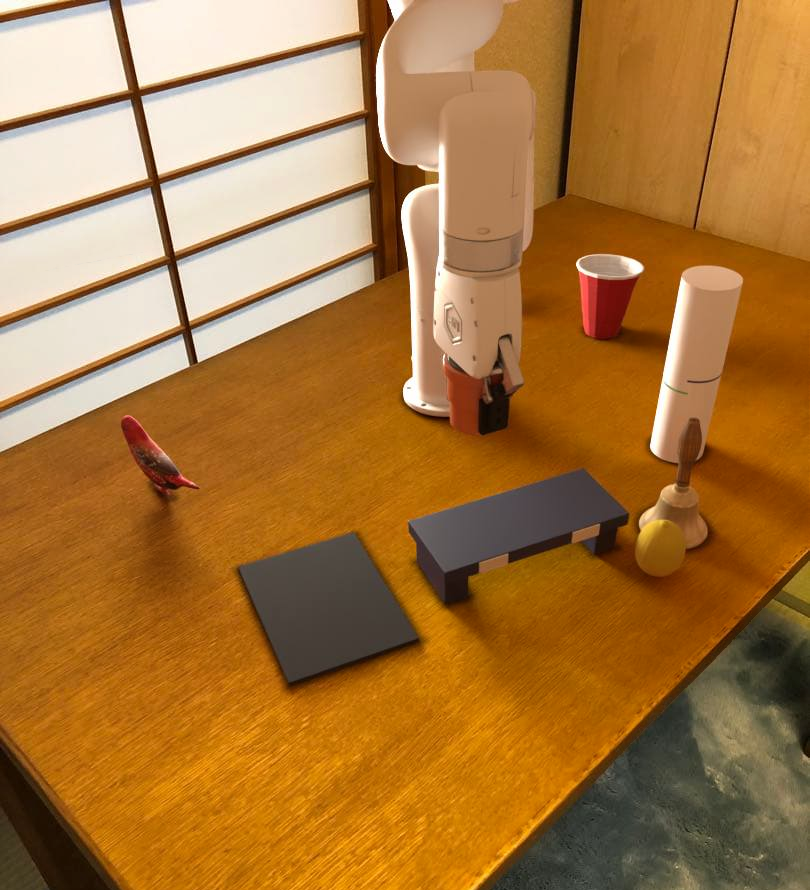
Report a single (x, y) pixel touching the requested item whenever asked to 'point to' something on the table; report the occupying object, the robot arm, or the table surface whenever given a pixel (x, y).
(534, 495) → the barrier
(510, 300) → the robot arm
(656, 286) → the table surface
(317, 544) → the mat
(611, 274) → the plastic cup
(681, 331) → the cylindrical container
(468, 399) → the pot
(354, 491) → the table surface
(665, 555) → the lemon
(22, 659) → the table surface
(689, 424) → the hand bell
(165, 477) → the decorative bird figurine
